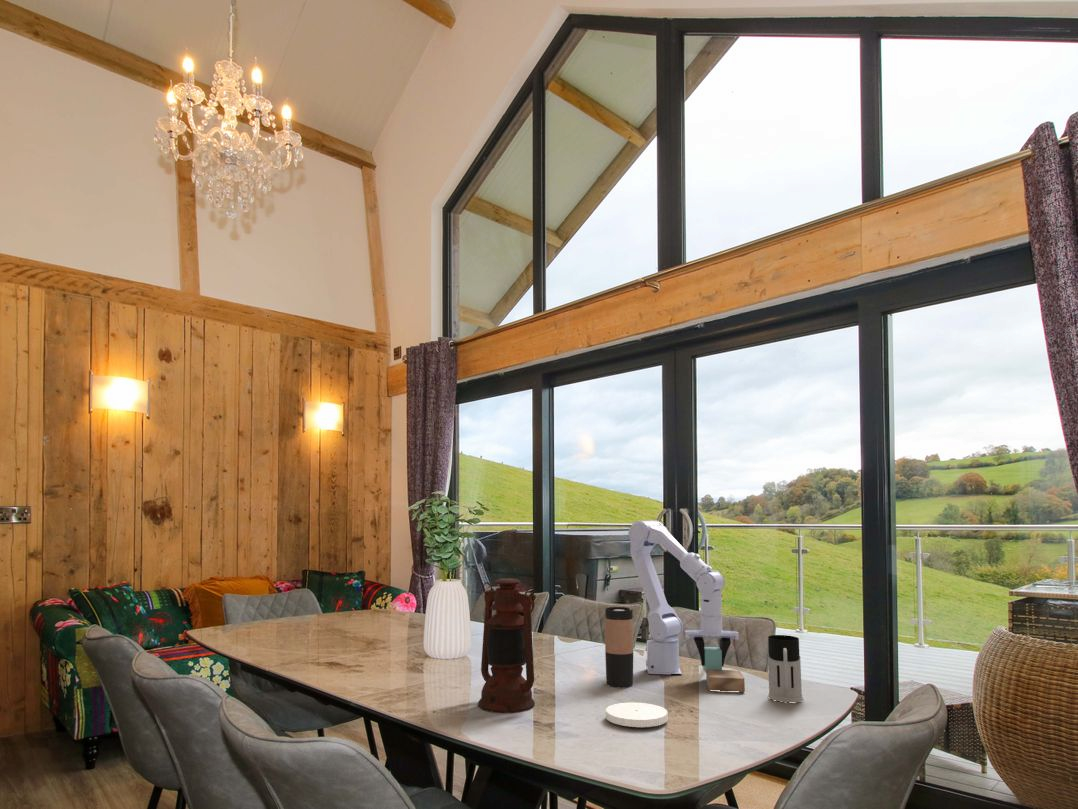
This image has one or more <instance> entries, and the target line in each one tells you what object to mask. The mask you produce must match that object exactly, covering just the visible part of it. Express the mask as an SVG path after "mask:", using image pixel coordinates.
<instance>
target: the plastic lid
mask: <svg viewBox="0 0 1078 809" xmlns="http://www.w3.org/2000/svg"><path fill="white" fill-rule="evenodd" d="M668 713H669V712H668V710H667V709H666V708H664V707H662V706H659V705H656V704H652V703H645V702H636V701H635V702H619V703H614V704H611V705H609V706H607V707H606V708H605V719H606V720H607V721H608V722H610V723H612V724H615V725H618V726H624V727H630V728H631V727H632V728H634V727H635V728H651V727H657V726H661V725H663V724H666V723H667V722H668V719H669V716H668V715H669V714H668Z"/></svg>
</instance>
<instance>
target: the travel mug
mask: <svg viewBox="0 0 1078 809" xmlns="http://www.w3.org/2000/svg"><path fill="white" fill-rule="evenodd" d="M633 611H634V610H633V609H630V607H626V606H625V607H624V606H611V607H610V606H609V607H605V614H604V616H605V617H604V618H605V620H604V622H605V626H604V627H605V628H604V629H605V630H604V631H605V632H604V633H605V634H604V635H605V636H604V637H605V638H604V639H605V641H604V642H605V643H604V646H605V649H604V651H605V652H604V654H605V656H604V657H605V675H606V677H605V680H606V681H605V682H606V685H607V686H608V685H609V687H611V686H612V687H611V688H618V687H625V688H630V687H632V686H633V684H634V621H633V620H634V616H633V614H634V612H633Z"/></svg>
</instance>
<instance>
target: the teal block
mask: <svg viewBox="0 0 1078 809" xmlns="http://www.w3.org/2000/svg"><path fill="white" fill-rule="evenodd" d="M704 657H705V666H702V668H703V671H704V672H705V674H706V669H710V670H723V666H722V650H721V649H720V646H718V647H717V646H704Z"/></svg>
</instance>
